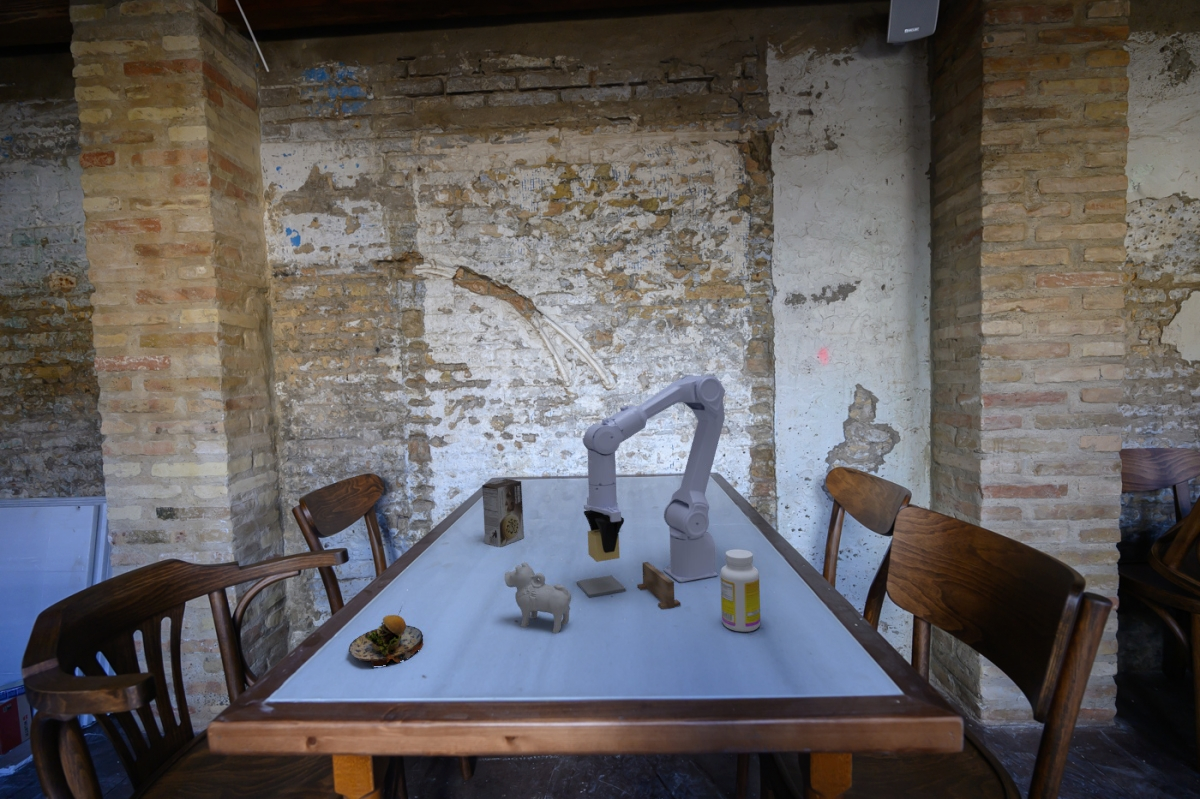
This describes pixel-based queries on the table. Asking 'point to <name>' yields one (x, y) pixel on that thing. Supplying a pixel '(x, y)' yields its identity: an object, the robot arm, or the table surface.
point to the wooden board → (658, 586)
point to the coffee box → (503, 512)
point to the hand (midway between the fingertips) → (604, 547)
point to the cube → (600, 547)
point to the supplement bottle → (740, 592)
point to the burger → (387, 642)
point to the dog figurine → (538, 596)
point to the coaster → (600, 586)
